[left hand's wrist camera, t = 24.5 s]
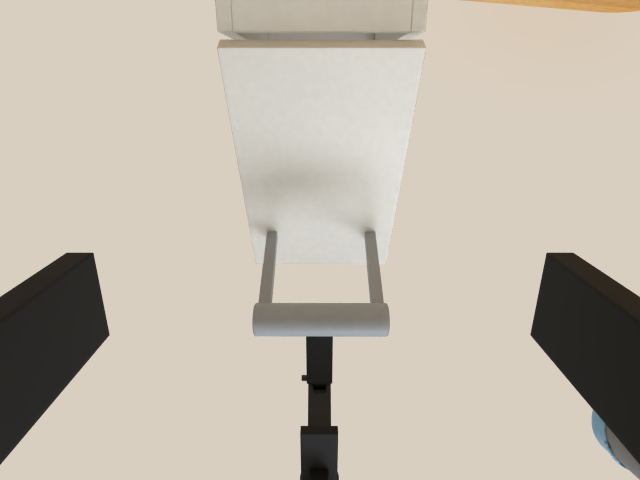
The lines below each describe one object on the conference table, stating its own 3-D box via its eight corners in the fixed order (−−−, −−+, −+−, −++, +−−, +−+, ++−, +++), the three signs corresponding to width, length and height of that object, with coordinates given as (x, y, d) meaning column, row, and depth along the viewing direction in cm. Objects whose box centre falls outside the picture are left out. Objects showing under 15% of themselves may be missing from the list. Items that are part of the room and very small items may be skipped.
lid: (385, 255, 32) (398, 360, 26) (257, 255, 32) (243, 360, 26) (423, 39, 20) (463, 146, 15) (219, 39, 20) (179, 145, 15)
